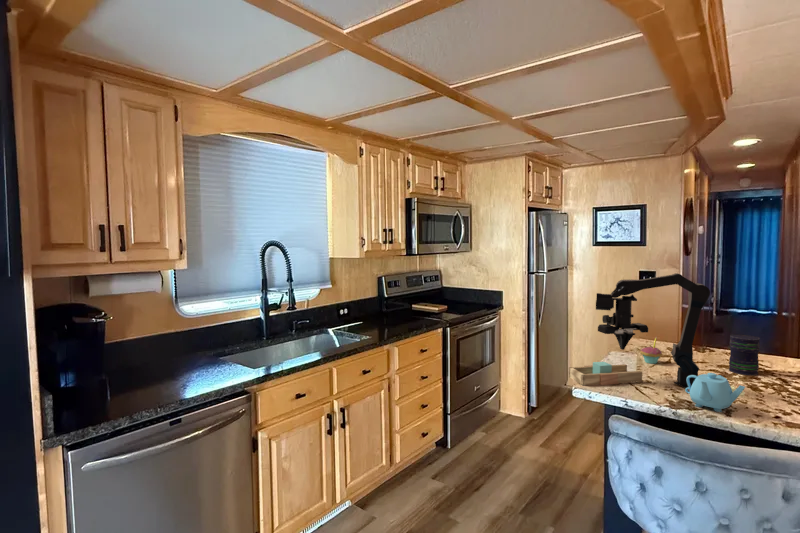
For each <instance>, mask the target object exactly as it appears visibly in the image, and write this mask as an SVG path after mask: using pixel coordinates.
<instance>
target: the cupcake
mask: <svg viewBox="0 0 800 533" xmlns="http://www.w3.org/2000/svg"><path fill="white" fill-rule="evenodd" d="M657 338H658V337H655V338H654V341H653V346H645V347H643V348H641V349H640V352H639V354H640V355H642V357H643V359H644V362H645V363H646V364H652V365H654V364H658V361H659V359H660V358H661V357H662V356H663V352H662V351H661V349H659V348H658V347H656V342H657Z"/></svg>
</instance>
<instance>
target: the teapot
mask: <svg viewBox="0 0 800 533" xmlns="http://www.w3.org/2000/svg"><path fill="white" fill-rule="evenodd" d="M691 377H694V378H696V379H695V381H694V382H693V384H692V386H691V384H690V381H689V379H690V378H691ZM686 381H687V384H688V387H687V388H685V389H684V391H685V393H687V394H689V397H690V400H691V401H692V402H693V403H694V406H695V407H697V408H703V407H709V408H713V411H714V412H717V413H723V409H727V408H729V407H731V406H732V404H733V402H736V401H737V399H738V397H740V395H741V393H742V392H743V391H744V390H745V388H746V386H744V385H738V387H737V388H735V390H733V389H732V386H731V385H730V383H729V380H728V379H727V378H726V377H724V376H723V375H720V374H719V375H718V373H717V374H716V373H714V372H708V373H703V374H698V376H696V375H690V376H688V377H687V379H686Z"/></svg>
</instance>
